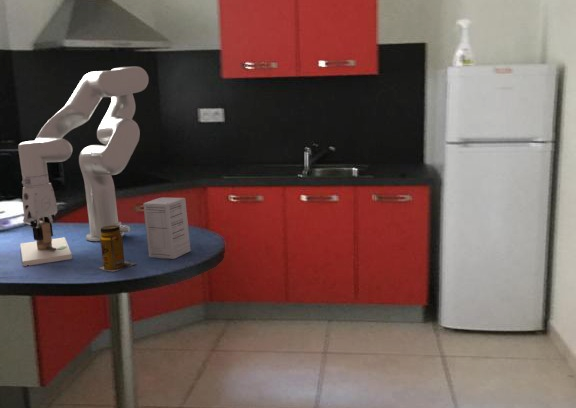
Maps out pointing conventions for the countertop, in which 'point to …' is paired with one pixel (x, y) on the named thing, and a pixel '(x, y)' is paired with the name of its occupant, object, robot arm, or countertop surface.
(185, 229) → the supplement box
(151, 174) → the countertop surface
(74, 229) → the countertop surface
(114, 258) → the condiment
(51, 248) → the brown piece
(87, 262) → the countertop surface
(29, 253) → the white rectangular slab
